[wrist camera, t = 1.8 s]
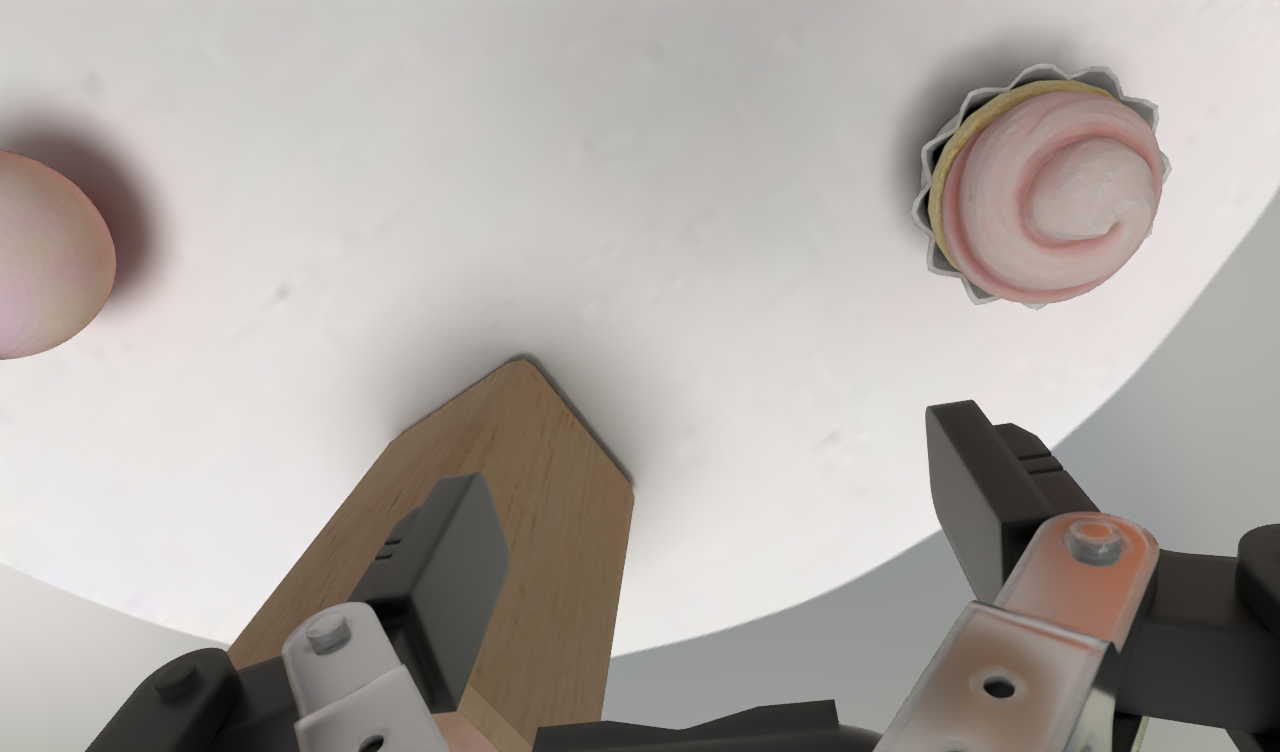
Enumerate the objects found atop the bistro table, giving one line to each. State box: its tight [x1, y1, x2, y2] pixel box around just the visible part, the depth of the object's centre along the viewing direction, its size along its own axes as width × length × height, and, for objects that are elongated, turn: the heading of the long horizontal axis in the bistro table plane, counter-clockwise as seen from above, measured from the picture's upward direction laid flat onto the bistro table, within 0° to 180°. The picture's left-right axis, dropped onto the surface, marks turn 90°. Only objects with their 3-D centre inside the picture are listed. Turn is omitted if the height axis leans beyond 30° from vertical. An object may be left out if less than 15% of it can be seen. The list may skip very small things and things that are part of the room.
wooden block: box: [226, 359, 634, 752], centre depth 32 cm, size 10×10×20 cm
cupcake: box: [911, 64, 1172, 310], centre depth 29 cm, size 9×9×10 cm
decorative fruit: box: [0, 150, 116, 360], centre depth 33 cm, size 9×8×10 cm
